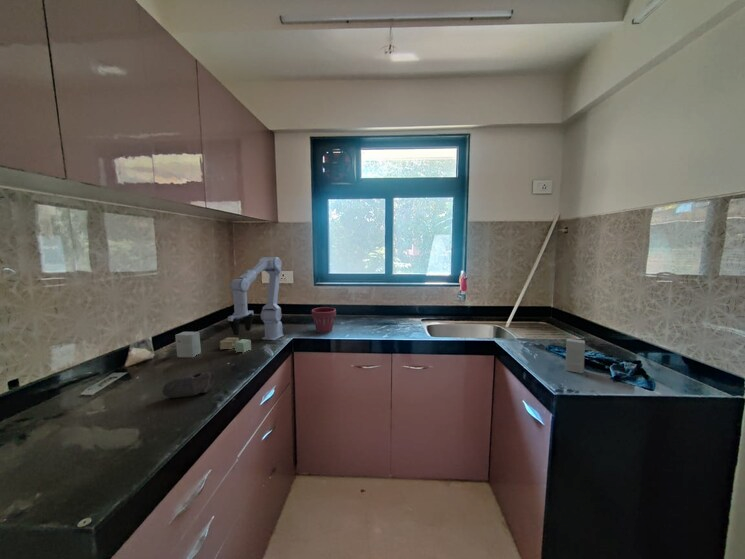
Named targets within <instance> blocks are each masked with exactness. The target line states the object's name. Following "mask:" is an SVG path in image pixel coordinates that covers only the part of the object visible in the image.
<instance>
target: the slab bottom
mask: <svg viewBox="0 0 745 559" xmlns="http://www.w3.org/2000/svg"><path fill="white" fill-rule="evenodd" d="M232 348H235V345H233V346H220V345H219V349H220V350H222V349H232ZM232 350H233V349H232Z"/></svg>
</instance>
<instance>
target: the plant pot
mask: <svg viewBox="0 0 745 559" xmlns="http://www.w3.org/2000/svg"><path fill="white" fill-rule="evenodd" d="M336 316H337V310H336V308H334V307H324V306H322V307H321V306H320V307H316V308H312V309H311V317H312V318H313V322H314V326H315V329H316V330H315V331H316V333H319V332H320V333H319V334H322V333H323V334H324V333H325V332H327V333H331V332H332V331H333V327H334V323H335V322H334V321H335V317H336ZM330 331H331V332H330Z"/></svg>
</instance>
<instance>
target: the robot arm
mask: <svg viewBox="0 0 745 559" xmlns="http://www.w3.org/2000/svg"><path fill="white" fill-rule="evenodd" d="M282 264H283V263H282V260H281V259H280V257H278V256H274V257H269V256H266V257H265V256H262V257H261V258H260V259H258V263H257V264H256V265H255V266H254V267H252V268H251V269H247V270H245V271H244V272H243V273H242V275H239V276H238V278H234V279H232V281H231V282H230V285H229V288H230V290H231V294H232V295H233V306H234V307H233V310H234V312H233V313H232V315H229V316H227V324H229V326H230V328H231V330H232V332H233V335H234V336H239V335H240V324H241V320H239V319H242V320H243V322H244V330H245V331H247V332H250V331H251V329H252V323H253V321H254V319H255V314H254V310H248V293H247V291H249V288H250V286H251V285H252V283H254V281H255V280H256V279H257V277H258V275H259V274H260V273H261V272H263V271H264V272H265V273H267V274H268V275H269V280H268V290H267V298H266V304H264V306H262V309H261V312H260V320H261V321H262V322H263V323H264V336H263V337H261V340H266V341H267V340H268V341H275V340H278V339H280V338H281V337H283V336H285V334H284V333H283V323H282V321H281V319H282V317H283V316H282V308H281V306H279V305H278V296H279V288H280V279H281V278H280V277H281V276H280V275H281V273H282Z"/></svg>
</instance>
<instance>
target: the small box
mask: <svg viewBox="0 0 745 559" xmlns="http://www.w3.org/2000/svg"><path fill="white" fill-rule="evenodd" d="M174 336H175V348H176V358H195V357H196V355H197V356H198V354H199V355H200V354H202V350H201V347H202V346H201V338H200V331H182V332H180V333H177V334H175V335H174Z"/></svg>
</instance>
